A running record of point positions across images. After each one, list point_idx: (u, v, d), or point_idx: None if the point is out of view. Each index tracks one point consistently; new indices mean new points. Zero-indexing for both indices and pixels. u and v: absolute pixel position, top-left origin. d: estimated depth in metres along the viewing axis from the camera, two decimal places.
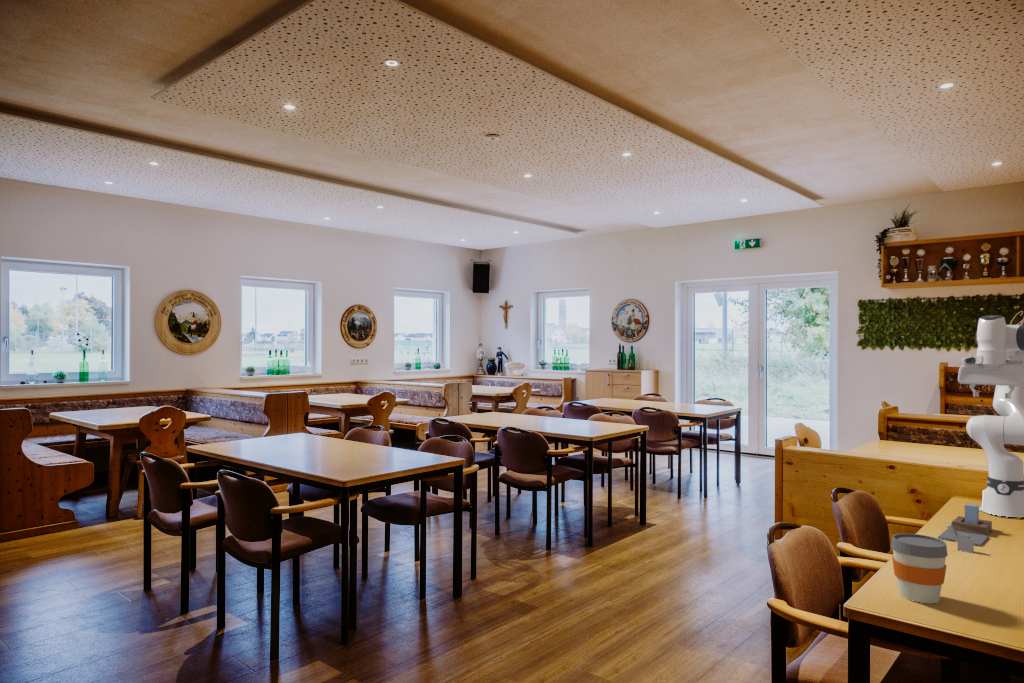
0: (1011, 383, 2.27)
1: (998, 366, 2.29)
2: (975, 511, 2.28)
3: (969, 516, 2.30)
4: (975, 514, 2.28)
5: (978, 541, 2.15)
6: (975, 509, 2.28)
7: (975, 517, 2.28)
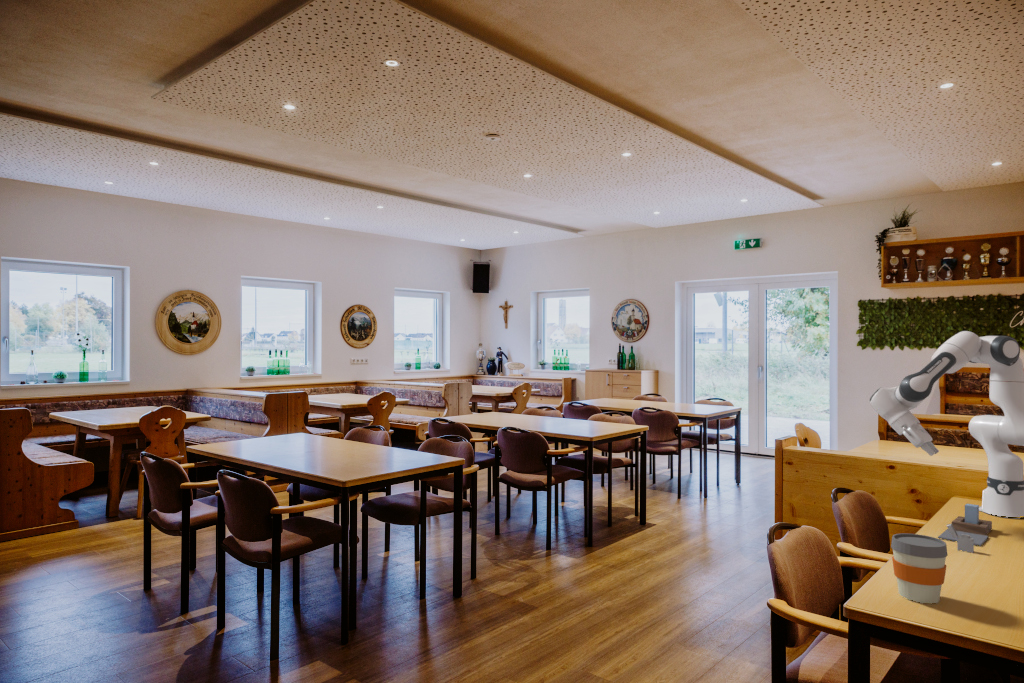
0: None
1: None
2: (975, 511, 2.28)
3: (969, 516, 2.30)
4: (975, 514, 2.28)
5: (978, 541, 2.15)
6: (975, 509, 2.28)
7: (975, 517, 2.28)
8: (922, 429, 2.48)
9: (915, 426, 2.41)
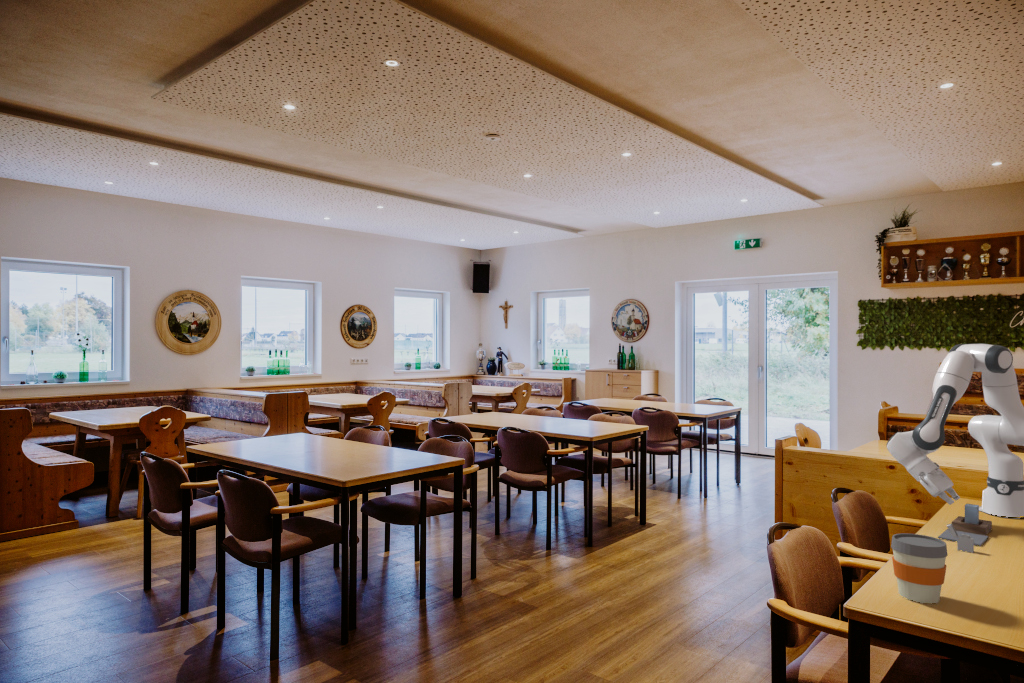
0: None
1: None
2: (975, 511, 2.28)
3: (969, 516, 2.30)
4: (975, 514, 2.28)
5: (978, 541, 2.15)
6: (975, 509, 2.28)
7: (975, 517, 2.28)
8: (942, 474, 2.43)
9: (933, 473, 2.37)
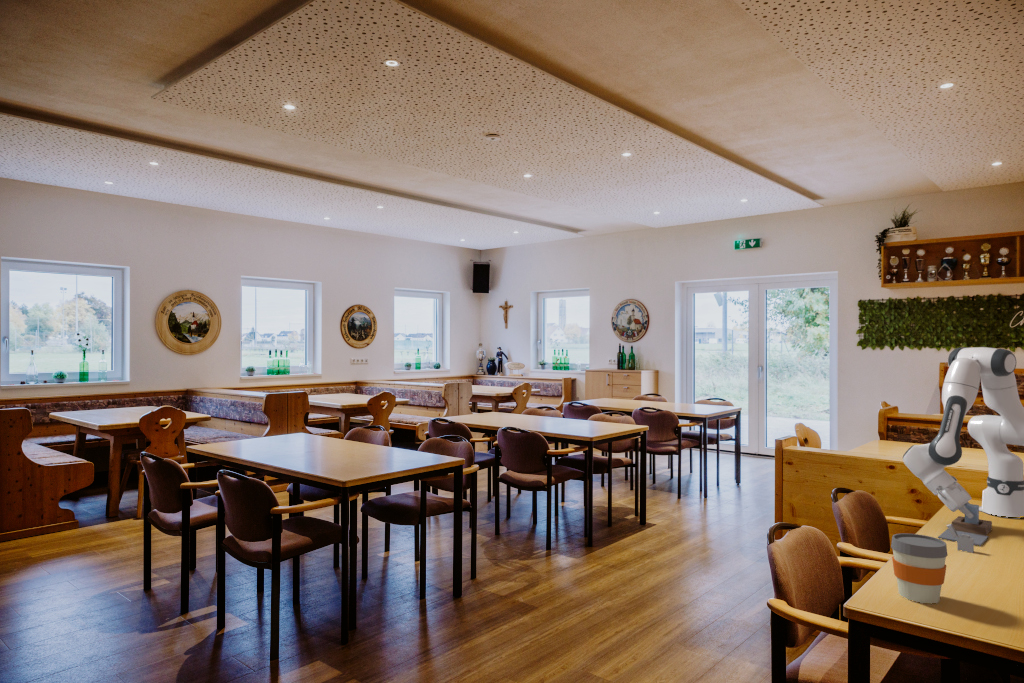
0: None
1: None
2: (975, 511, 2.28)
3: None
4: (975, 514, 2.28)
5: (978, 541, 2.15)
6: (975, 509, 2.28)
7: (975, 517, 2.28)
8: (960, 487, 2.39)
9: (951, 487, 2.33)
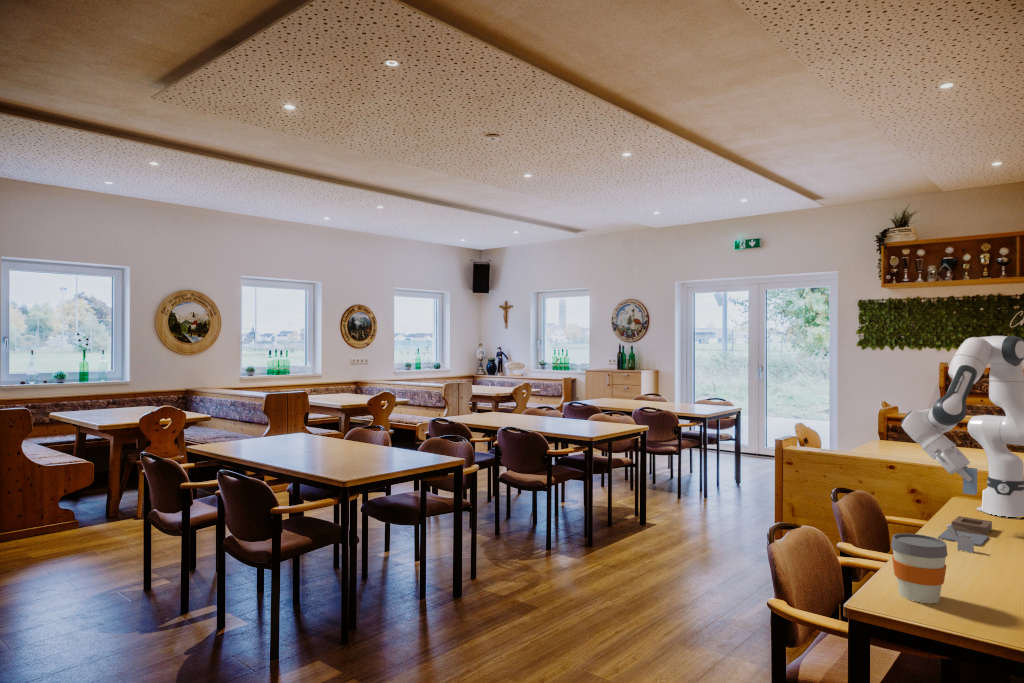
0: None
1: None
2: (973, 474, 2.27)
3: None
4: (973, 477, 2.27)
5: (978, 541, 2.15)
6: (974, 472, 2.27)
7: (973, 480, 2.27)
8: (958, 452, 2.38)
9: (950, 451, 2.32)
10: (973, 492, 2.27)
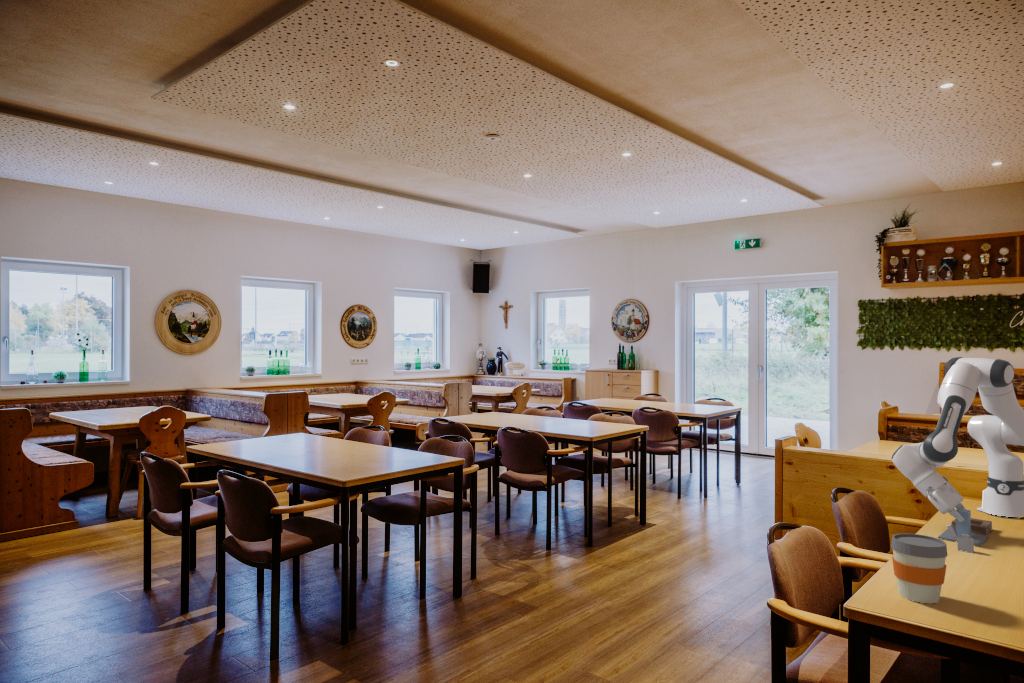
0: None
1: None
2: (967, 517, 2.18)
3: (961, 522, 2.19)
4: (967, 520, 2.18)
5: (978, 541, 2.15)
6: (967, 514, 2.18)
7: (967, 523, 2.18)
8: (951, 488, 2.29)
9: (942, 488, 2.23)
10: None
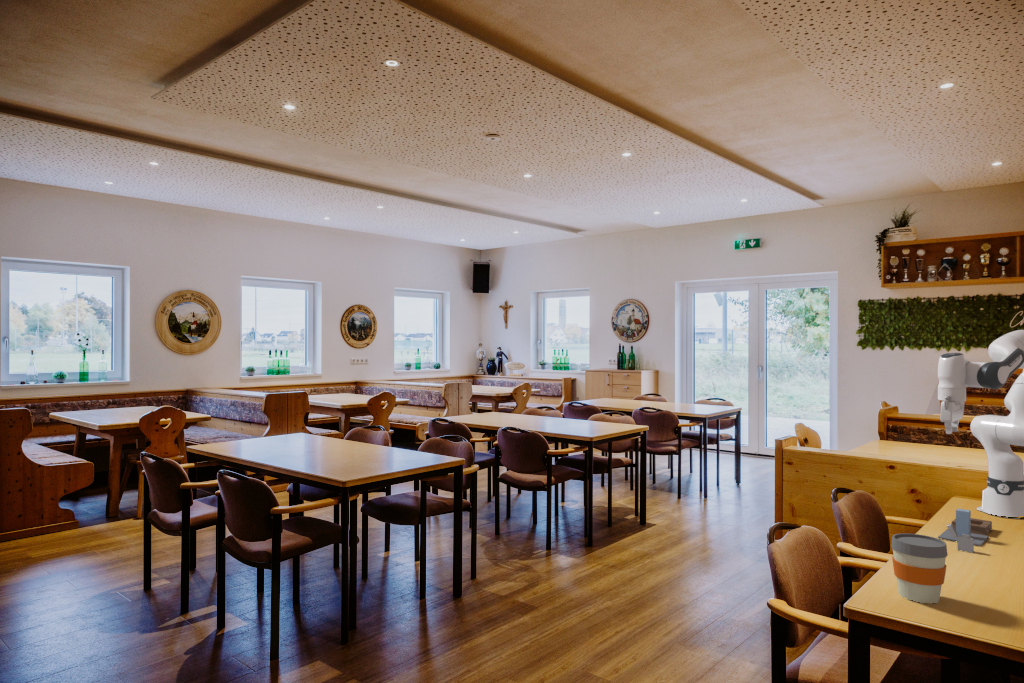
0: None
1: (943, 402, 2.39)
2: (967, 517, 2.18)
3: (961, 522, 2.19)
4: (967, 520, 2.18)
5: (978, 541, 2.15)
6: (967, 514, 2.18)
7: (967, 523, 2.18)
8: (962, 406, 2.43)
9: (957, 403, 2.36)
10: None
